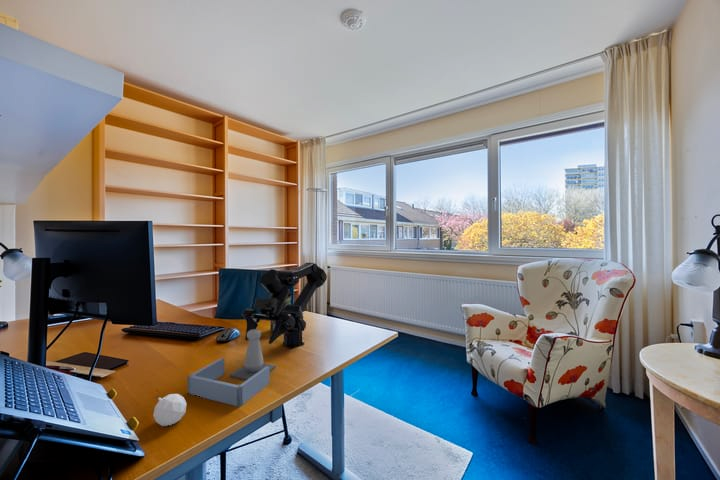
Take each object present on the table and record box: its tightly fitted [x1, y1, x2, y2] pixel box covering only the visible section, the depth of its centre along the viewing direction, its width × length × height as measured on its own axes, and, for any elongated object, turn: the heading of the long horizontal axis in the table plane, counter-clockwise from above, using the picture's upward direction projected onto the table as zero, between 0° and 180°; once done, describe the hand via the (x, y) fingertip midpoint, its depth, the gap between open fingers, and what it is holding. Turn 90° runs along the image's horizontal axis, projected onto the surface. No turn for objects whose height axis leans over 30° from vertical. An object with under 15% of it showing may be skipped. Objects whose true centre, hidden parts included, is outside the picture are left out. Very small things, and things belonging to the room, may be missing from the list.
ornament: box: [152, 393, 188, 427], centre depth 70 cm, size 6×7×7 cm
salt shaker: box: [244, 328, 264, 373], centre depth 95 cm, size 6×6×13 cm
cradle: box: [187, 357, 270, 408], centre depth 85 cm, size 12×18×5 cm
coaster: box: [229, 363, 277, 381], centre depth 95 cm, size 10×10×1 cm
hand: (257, 341), depth 96 cm, fingers open, 9 cm apart
